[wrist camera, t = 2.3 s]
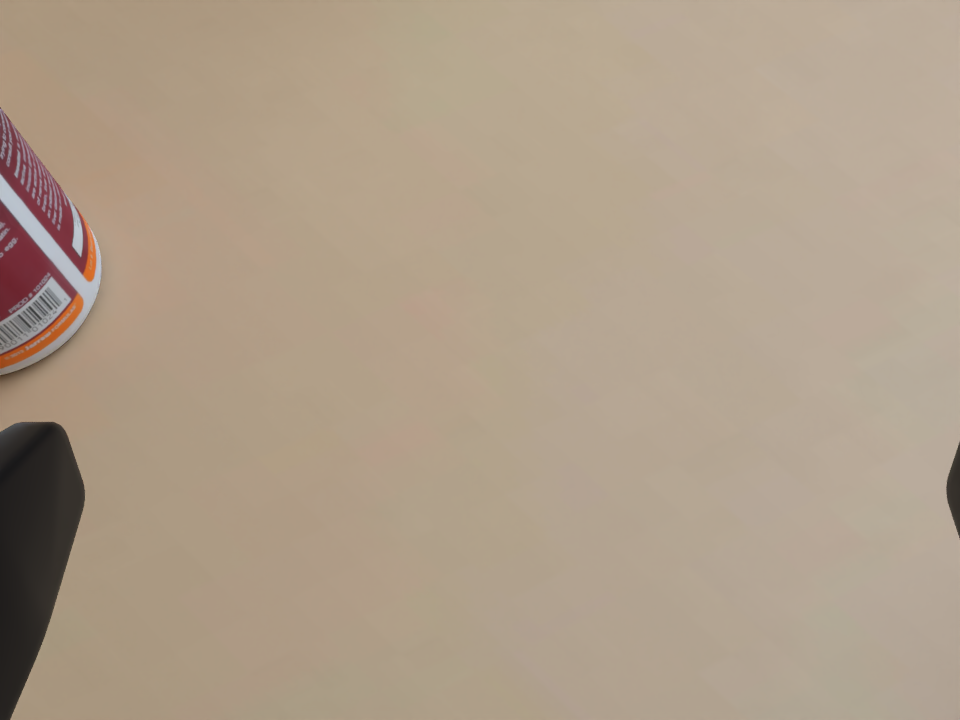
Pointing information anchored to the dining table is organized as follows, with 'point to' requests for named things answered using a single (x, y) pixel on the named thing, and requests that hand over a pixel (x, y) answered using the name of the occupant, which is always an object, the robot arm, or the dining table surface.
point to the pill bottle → (39, 258)
